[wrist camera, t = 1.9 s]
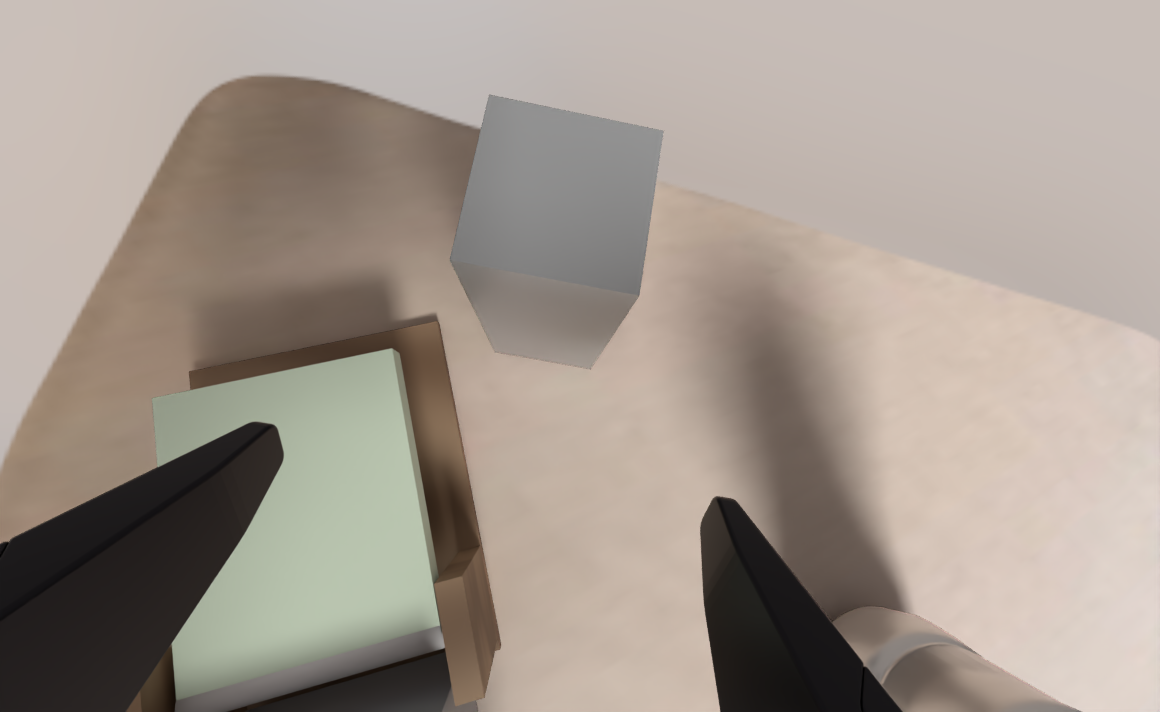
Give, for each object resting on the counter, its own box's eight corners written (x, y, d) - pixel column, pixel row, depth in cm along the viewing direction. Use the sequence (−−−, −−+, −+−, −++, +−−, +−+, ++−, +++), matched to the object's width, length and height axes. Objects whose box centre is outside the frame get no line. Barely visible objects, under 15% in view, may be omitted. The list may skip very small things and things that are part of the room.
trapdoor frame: (501, 644, 21) (487, 713, 16) (231, 724, 20) (113, 830, 14) (439, 323, 24) (409, 287, 18) (196, 373, 22) (86, 350, 17)
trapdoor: (479, 721, 19) (453, 840, 14) (255, 791, 18) (121, 954, 12) (415, 363, 22) (369, 333, 16) (215, 405, 21) (88, 390, 15)
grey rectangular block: (590, 369, 24) (639, 295, 12) (495, 352, 24) (449, 260, 12) (605, 279, 25) (663, 130, 13) (513, 261, 25) (489, 94, 13)
